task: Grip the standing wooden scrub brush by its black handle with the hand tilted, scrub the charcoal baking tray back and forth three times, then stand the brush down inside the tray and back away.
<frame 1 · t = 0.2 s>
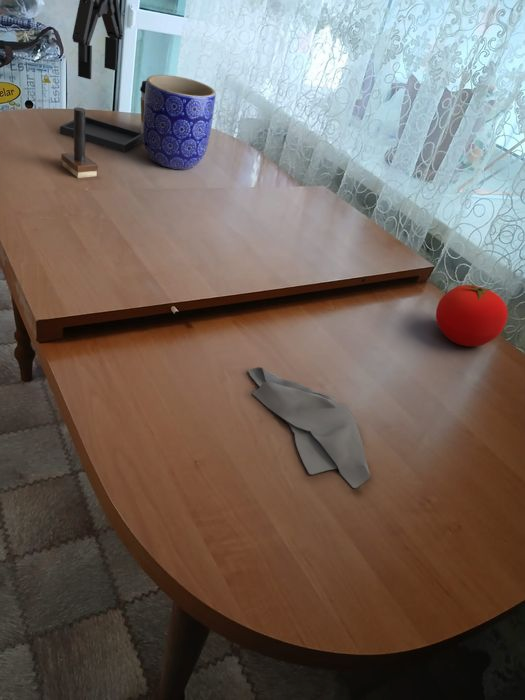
hand: (98, 73, 124), 24 cm above the table, tool pointing down, fingers open, 13 cm apart
tomato: (458, 338, 112), on the table
tray: (103, 137, 159), on the table
planter: (173, 162, 156), on the table
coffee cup: (150, 134, 170), on the table
cloth: (313, 421, 84), on the table
brush: (79, 170, 137), on the table
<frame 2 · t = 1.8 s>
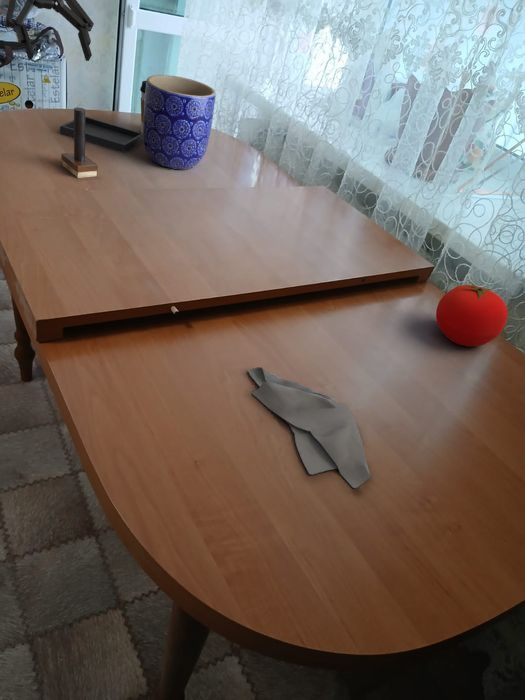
hand: (60, 57, 128), 24 cm above the table, tool tilted 45°, fingers open, 13 cm apart
nothing on the table moved.
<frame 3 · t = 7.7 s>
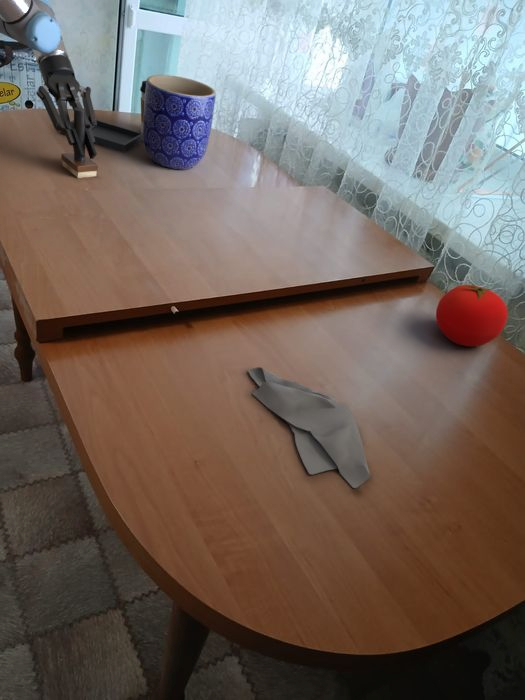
hand: (87, 156, 132), 5 cm above the table, tool tilted 45°, fingers closed on brush, 3 cm apart
brush: (79, 170, 137), on the table, touching gripper
everything else where it was.
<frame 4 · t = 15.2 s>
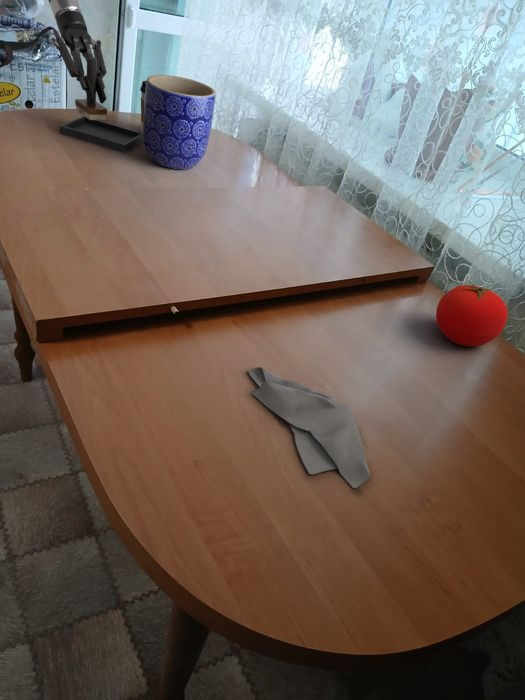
hand: (98, 100, 152), 10 cm above the table, tool tilted 45°, fingers closed on brush, 3 cm apart
brush: (91, 114, 157), point 5 cm above the table, touching gripper
everything else where it was.
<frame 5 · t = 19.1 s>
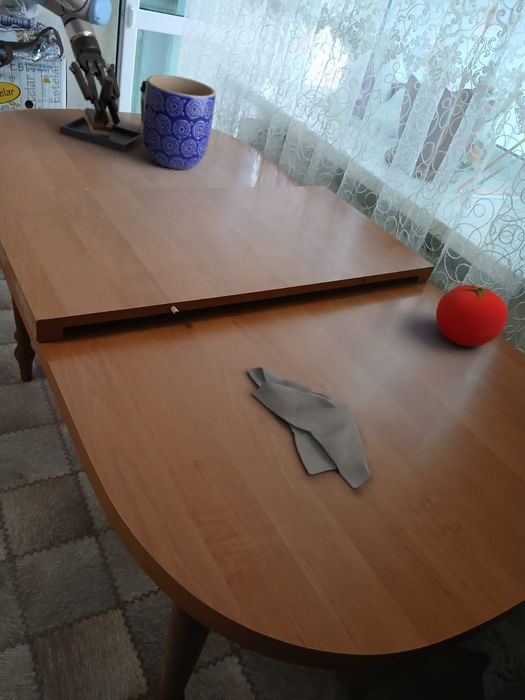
hand: (111, 123, 154), 5 cm above the table, tool tilted 45°, fingers closed on brush, 3 cm apart
brush: (96, 126, 159), point 2 cm above the table, tilted 16°, touching gripper
everything else where it was.
when the fingers open (5 cm above the table, at t = 22.8 s): brush stays where it is, resting on tray.
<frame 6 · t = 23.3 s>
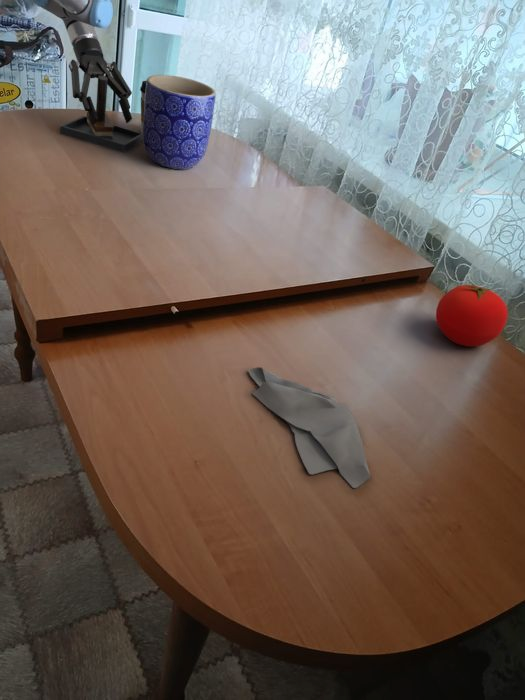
hand: (112, 121, 154), 6 cm above the table, tool tilted 45°, fingers open, 10 cm apart
brush: (99, 128, 160), point 1 cm above the table, tilted 11°, touching tray
everything else where it was.
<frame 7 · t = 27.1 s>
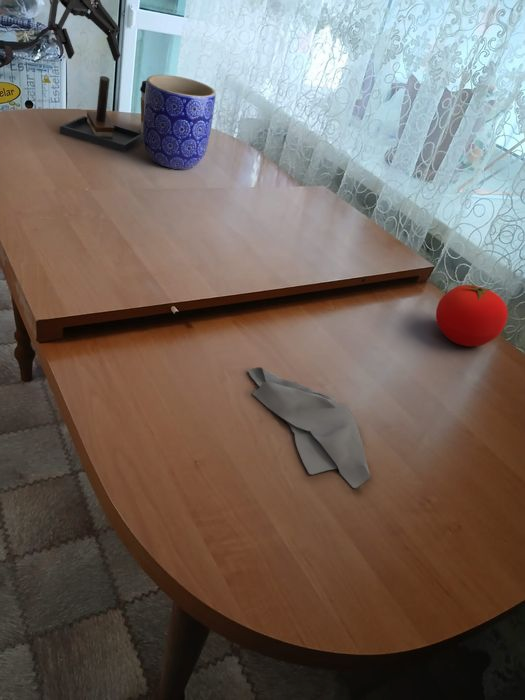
hand: (95, 57, 147), 21 cm above the table, tool tilted 45°, fingers open, 13 cm apart
nothing on the table moved.
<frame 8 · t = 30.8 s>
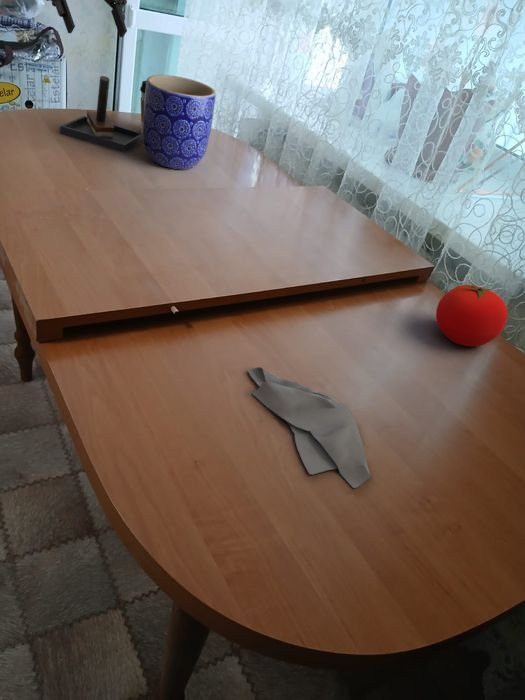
hand: (98, 32, 130), 30 cm above the table, tool tilted 45°, fingers open, 13 cm apart
nothing on the table moved.
at the end: brush inside the target area in the tray (2.8 cm from its centre), point 1.4 cm above the tray's base; brush tilted 12°; the gripper is holding nothing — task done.
